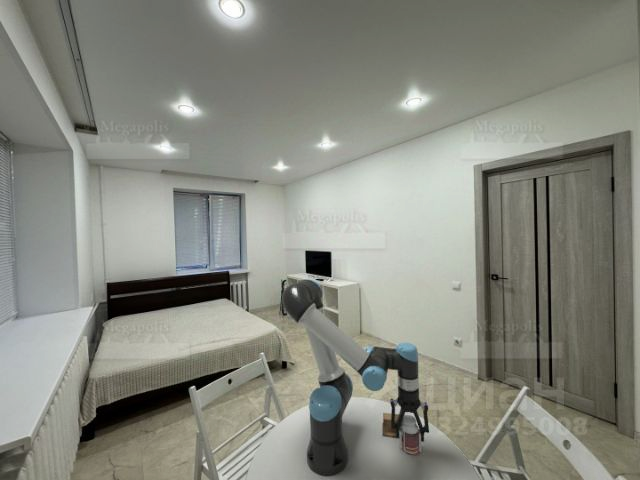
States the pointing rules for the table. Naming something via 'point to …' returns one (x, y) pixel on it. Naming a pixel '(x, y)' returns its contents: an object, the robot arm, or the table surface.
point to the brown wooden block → (389, 425)
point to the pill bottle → (410, 435)
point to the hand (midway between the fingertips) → (410, 447)
